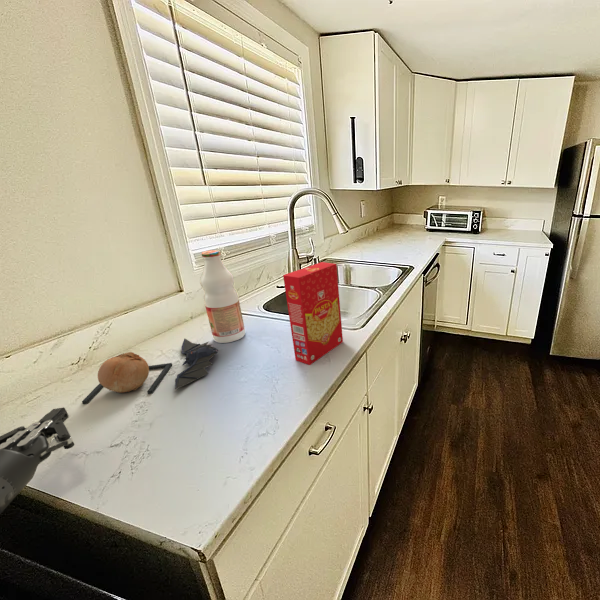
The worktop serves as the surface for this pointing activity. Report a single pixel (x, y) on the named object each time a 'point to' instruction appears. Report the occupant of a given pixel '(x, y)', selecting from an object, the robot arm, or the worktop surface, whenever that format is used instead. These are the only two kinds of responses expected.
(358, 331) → the worktop surface
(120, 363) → the onion
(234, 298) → the fruit juice
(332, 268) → the food packaging
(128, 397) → the worktop surface
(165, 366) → the frame
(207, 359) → the decorative bat
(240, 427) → the worktop surface
